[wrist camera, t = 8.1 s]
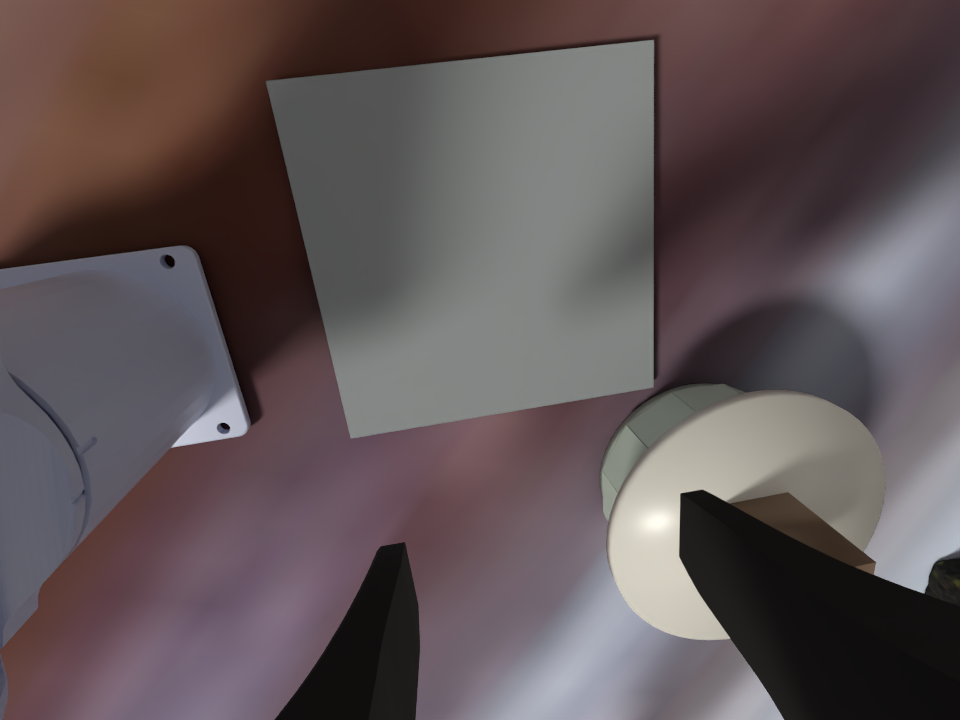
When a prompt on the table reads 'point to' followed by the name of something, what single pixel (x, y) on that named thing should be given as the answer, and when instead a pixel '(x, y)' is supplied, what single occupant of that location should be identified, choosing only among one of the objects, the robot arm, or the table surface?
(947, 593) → the candle
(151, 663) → the table surface
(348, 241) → the mat
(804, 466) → the lid
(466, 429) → the table surface
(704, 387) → the bowl
